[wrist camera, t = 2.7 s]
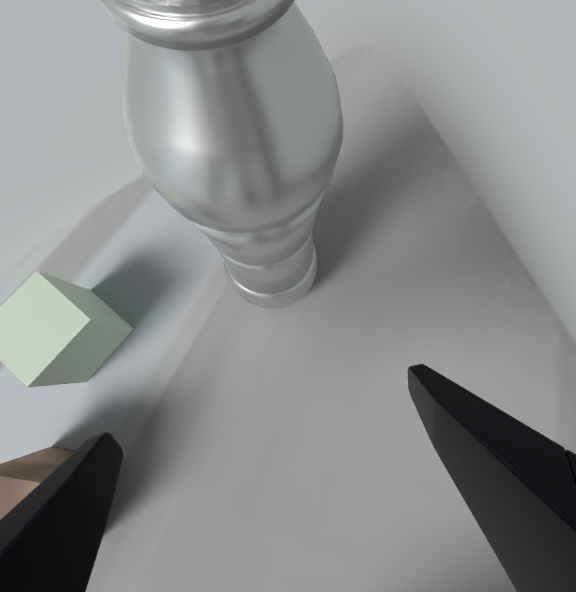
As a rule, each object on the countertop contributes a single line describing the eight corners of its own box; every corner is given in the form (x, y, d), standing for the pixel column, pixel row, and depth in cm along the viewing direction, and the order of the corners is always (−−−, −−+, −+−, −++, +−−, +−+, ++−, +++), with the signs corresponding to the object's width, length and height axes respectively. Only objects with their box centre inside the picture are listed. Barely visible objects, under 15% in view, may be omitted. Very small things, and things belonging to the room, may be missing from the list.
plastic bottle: (262, 330, 22) (10, 86, 3) (217, 261, 23) (-174, -249, 4) (331, 284, 23) (552, -189, 3) (283, 219, 24) (235, -393, 5)
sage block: (134, 329, 22) (90, 319, 18) (87, 381, 22) (27, 387, 17) (91, 290, 23) (36, 270, 18) (43, 339, 22) (-27, 333, 18)
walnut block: (119, 457, 20) (64, 487, 16) (99, 539, 19) (33, 598, 14) (52, 446, 21) (-23, 472, 16) (28, 526, 20) (-60, 580, 15)
